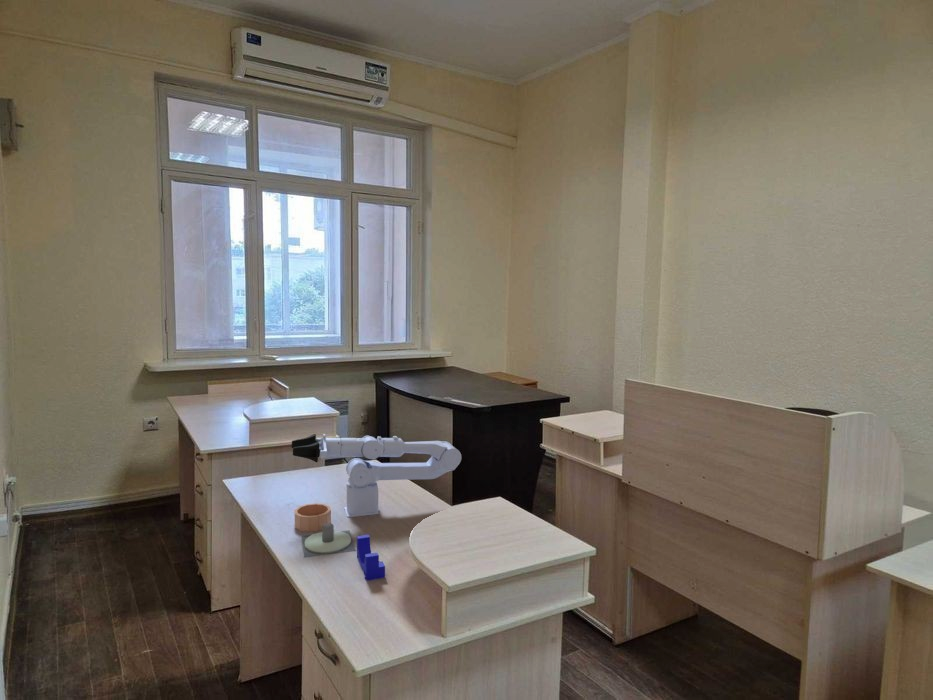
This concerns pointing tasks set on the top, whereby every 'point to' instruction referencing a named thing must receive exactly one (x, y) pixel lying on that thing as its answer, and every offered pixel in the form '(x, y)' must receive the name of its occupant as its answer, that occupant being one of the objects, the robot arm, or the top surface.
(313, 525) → the bowl
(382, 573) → the blue stepped bracket
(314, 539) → the lid
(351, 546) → the mat
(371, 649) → the top surface
